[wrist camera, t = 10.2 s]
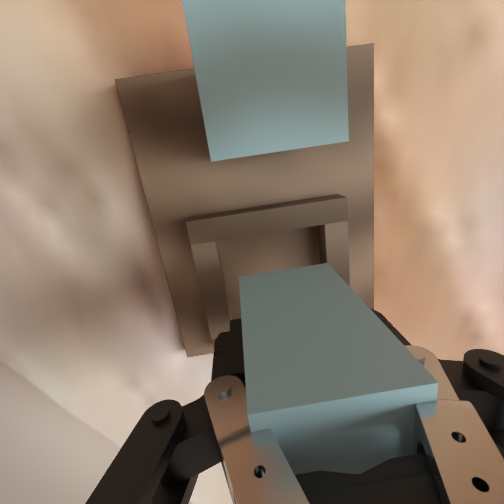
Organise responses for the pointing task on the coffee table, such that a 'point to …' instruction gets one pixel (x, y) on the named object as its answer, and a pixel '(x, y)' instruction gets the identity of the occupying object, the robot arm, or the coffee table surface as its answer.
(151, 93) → the walnut board
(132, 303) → the coffee table surface
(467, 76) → the coffee table surface
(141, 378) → the coffee table surface
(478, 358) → the robot arm
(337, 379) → the teal block
